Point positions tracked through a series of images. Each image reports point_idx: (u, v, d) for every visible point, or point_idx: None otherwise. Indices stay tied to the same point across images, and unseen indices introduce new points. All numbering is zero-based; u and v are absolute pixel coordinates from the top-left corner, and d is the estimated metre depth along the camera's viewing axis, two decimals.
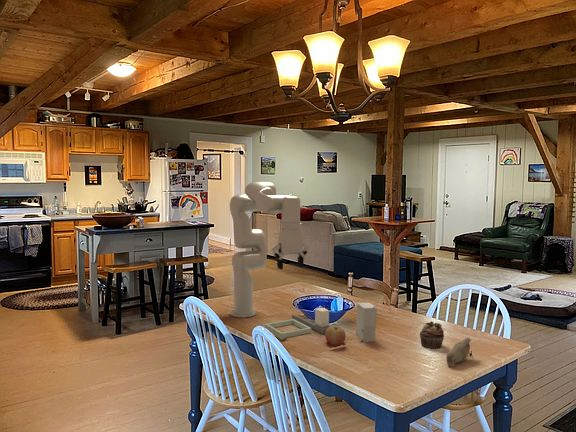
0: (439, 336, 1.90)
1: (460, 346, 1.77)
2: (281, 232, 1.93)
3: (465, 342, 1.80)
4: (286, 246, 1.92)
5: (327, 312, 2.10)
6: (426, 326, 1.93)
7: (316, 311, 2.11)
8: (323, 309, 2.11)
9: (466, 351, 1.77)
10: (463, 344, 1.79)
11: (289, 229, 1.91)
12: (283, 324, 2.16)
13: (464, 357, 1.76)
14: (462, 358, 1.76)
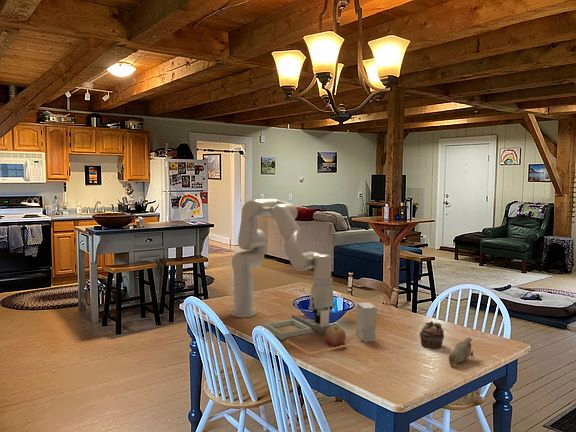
0: (439, 336, 1.90)
1: (462, 346, 1.77)
2: (313, 288, 2.08)
3: (466, 342, 1.81)
4: (318, 301, 2.07)
5: (327, 312, 2.10)
6: (426, 326, 1.93)
7: None
8: (323, 309, 2.11)
9: (468, 351, 1.77)
10: (465, 344, 1.79)
11: (321, 285, 2.06)
12: (283, 324, 2.16)
13: (466, 357, 1.76)
14: (464, 357, 1.76)
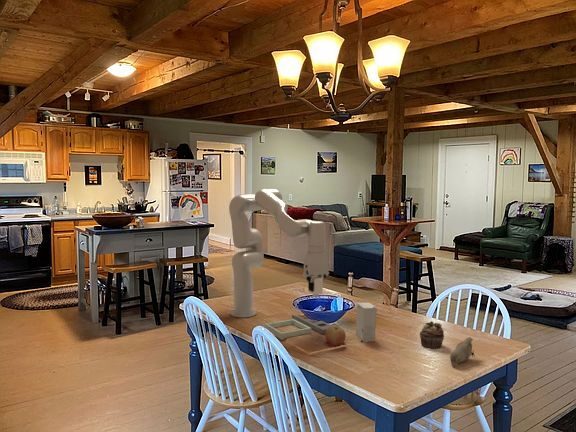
0: (439, 336, 1.90)
1: (463, 346, 1.78)
2: (307, 255, 2.06)
3: (467, 342, 1.81)
4: (312, 268, 2.06)
5: (321, 279, 2.08)
6: (426, 326, 1.93)
7: None
8: (317, 277, 2.10)
9: (469, 351, 1.77)
10: (466, 344, 1.79)
11: (315, 252, 2.05)
12: (283, 324, 2.16)
13: (467, 357, 1.77)
14: (465, 357, 1.76)
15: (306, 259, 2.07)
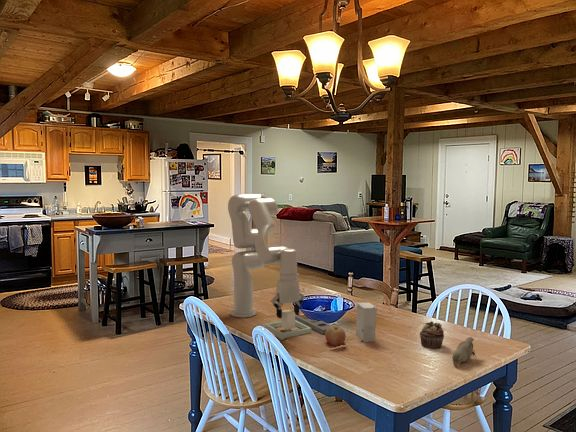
0: (439, 336, 1.90)
1: (465, 345, 1.78)
2: (279, 283, 2.06)
3: (469, 341, 1.81)
4: (284, 296, 2.05)
5: (293, 314, 2.08)
6: (426, 326, 1.93)
7: (282, 313, 2.09)
8: (289, 311, 2.09)
9: (470, 350, 1.78)
10: (467, 343, 1.80)
11: (286, 280, 2.04)
12: None
13: (469, 356, 1.77)
14: (467, 357, 1.76)
15: (278, 287, 2.06)
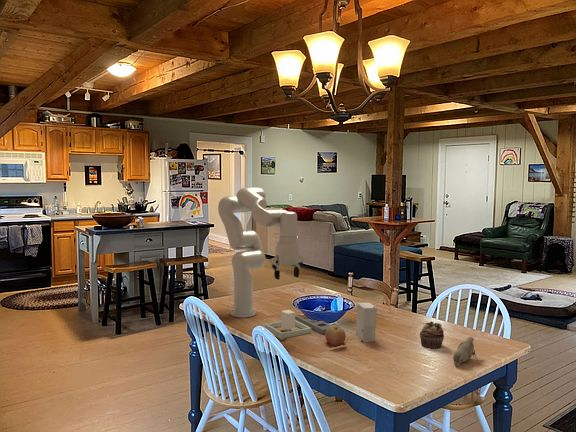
0: (439, 336, 1.90)
1: (465, 345, 1.78)
2: (278, 245, 2.07)
3: (469, 341, 1.81)
4: (283, 258, 2.06)
5: (293, 314, 2.08)
6: (426, 326, 1.93)
7: (282, 313, 2.09)
8: (289, 311, 2.09)
9: (471, 350, 1.78)
10: (468, 343, 1.80)
11: (286, 243, 2.05)
12: None
13: (470, 356, 1.77)
14: (467, 357, 1.76)
15: (277, 249, 2.07)
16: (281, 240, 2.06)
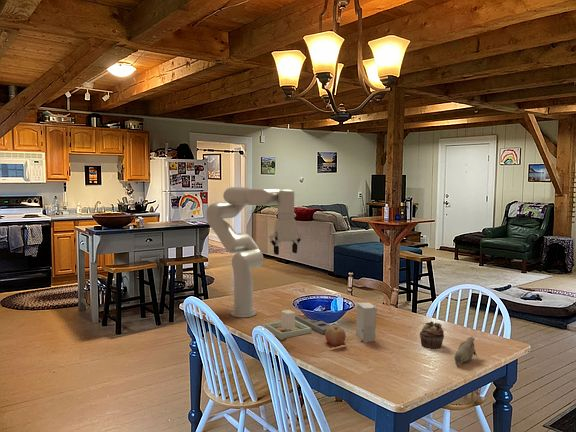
0: (439, 336, 1.90)
1: (466, 345, 1.78)
2: (277, 222, 2.15)
3: (470, 341, 1.81)
4: (281, 234, 2.15)
5: (293, 314, 2.08)
6: (426, 326, 1.93)
7: (282, 313, 2.09)
8: (289, 311, 2.09)
9: (472, 350, 1.78)
10: (468, 343, 1.80)
11: (284, 219, 2.14)
12: None
13: (471, 356, 1.77)
14: (469, 357, 1.76)
15: (276, 226, 2.16)
16: (279, 217, 2.15)
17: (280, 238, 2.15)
